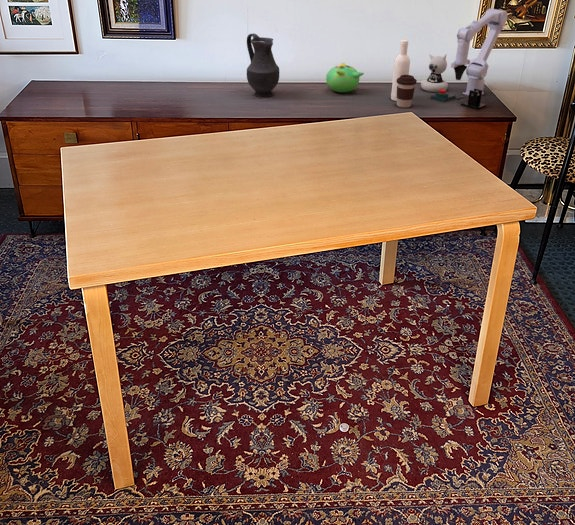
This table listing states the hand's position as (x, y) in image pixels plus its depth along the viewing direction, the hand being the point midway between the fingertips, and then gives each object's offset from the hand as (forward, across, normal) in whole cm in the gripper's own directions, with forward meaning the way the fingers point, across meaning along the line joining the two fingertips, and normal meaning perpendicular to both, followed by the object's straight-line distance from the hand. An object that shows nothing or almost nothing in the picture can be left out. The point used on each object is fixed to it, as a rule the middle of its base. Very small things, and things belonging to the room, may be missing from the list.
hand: (458, 79), depth 331 cm
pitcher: (+11, -72, +74) cm, 104 cm away
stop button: (+7, -5, +5) cm, 10 cm away
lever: (+7, -3, -10) cm, 12 cm away
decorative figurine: (+10, +6, +18) cm, 22 cm away
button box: (+10, -4, +5) cm, 12 cm away
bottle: (+11, -23, +20) cm, 32 cm away
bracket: (+10, -3, -13) cm, 17 cm away
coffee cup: (+11, -30, +11) cm, 33 cm away
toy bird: (+11, -36, +48) cm, 61 cm away
